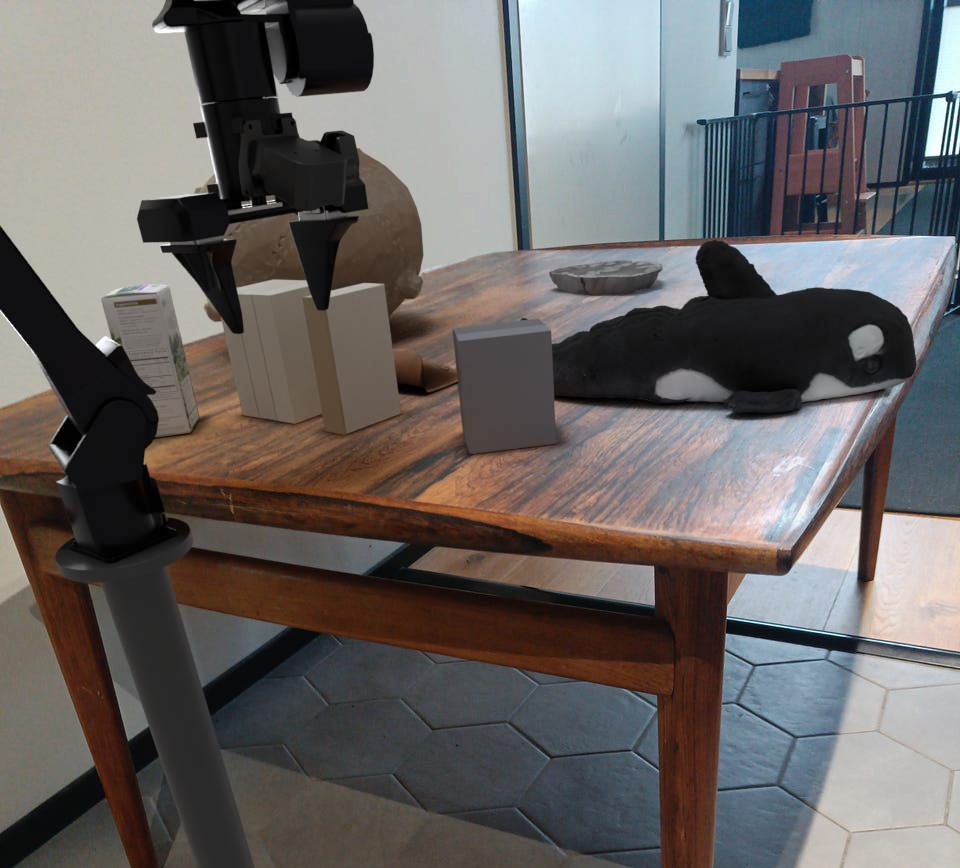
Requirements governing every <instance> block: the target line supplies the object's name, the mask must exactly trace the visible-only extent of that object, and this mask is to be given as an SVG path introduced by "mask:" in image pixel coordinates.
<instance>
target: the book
mask: <svg viewBox="0 0 960 868" xmlns="http://www.w3.org/2000/svg"><path fill="white" fill-rule="evenodd" d="M302 301H303V307H304V312H305V318H306V324H307V329H308V335H309V341H310V347H311V352H312V358H313V364H314V369H315V375H316V381H317V387H318V392H319V398H320V404H321V409H322V414H321V415H322V420H323V421H322V422H323V426H324V431H325V432H326V433H333V434H337V435H342V436H346V435H348V434H350V433H353V432H356V431H359V430H361V429H364V428H366V427H369V426H372V425H374V424H378V423H380V422H383V421H385V420H388V419H391V418H393V417H396V416H399V415H401V414H402V411H401V402H400V395H399V388H398V383H397V379H396V371H395V364H394V356H393V349H394V348H393V342H392V341H393V340H392V333H391V326H390V320H389V319H390V317H388V310H387V302H386V295H385V287H384V284H375V283H362V284H358V285H353V286H349V287H345V288H340V289H336V290H332V291H331V294H330V301H329V308H328V309H327V310H325V311H319V310H317V308H316V306H315V304H314V301H313V299H312V296H306V297H302Z"/></svg>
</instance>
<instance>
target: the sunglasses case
mask: <svg viewBox="0 0 960 868" xmlns="http://www.w3.org/2000/svg"><path fill="white" fill-rule="evenodd" d="M393 356H394V364H395V371H396V379H397V384H402V385H408V386H415V387H422V389H423V390H424V391H426V392H427V393H429V394H430V393H433V392H437V391H441V390H444V389H446V388H449V387H452V386H453V385H455V384H458V379H457V369H456V368H452V367H450V366H447V365H446V364H443V363H440V362H435V361H432V360H429V359H424V358H422V356H421V355H420V354H418V353H417V352H416V351H414V350H413V349H411V348H401V349H397V348H393Z"/></svg>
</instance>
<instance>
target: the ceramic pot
mask: <svg viewBox="0 0 960 868" xmlns="http://www.w3.org/2000/svg"><path fill="white" fill-rule="evenodd" d="M357 151H358V156H359V174H360V175H359V178H360V179H361V180H362V181H363V182H364V184H365V187H366V194H367V201H368V209H366V210H360V211H355V212H349V213H347V215H348V216H359V219H358V222H357V223H353V224H352V225H351V226H350V227H349V228H348V230H347V231H346V233H345V234H344V235H343V237H342V238H341V240H340V243H339V247H338V252H337V256H336V261H335V267H334V274H333V281H332V287H331V291H332V290H336V289H340V288H345V287H349V286H353V285H358V284H362V283H375V284H384V287H385V295H386V302H387V310H388V318H390V317H391V316H392V314H394V313H395V311H396V310H397V309H398V308H399V307H400V306H401V305H402V304H403V303H404V302H405V300H414V299H416V298H417V297H418V296H419V295H420V293H421V291H422V288H423V284H424V281H423V278H422V277H421V276H419V275H420V272H421V270H422V264H423V259H424V242H423V229H422V227H423V226H422V221H421V218H420V214H419V210H418V207H417V205H416V202H415V200H414V197H413V195H412V193H411V191H410V190H409V187H408V186H407V185H406V184H405V183H404V182H403V181H402V180H401V179H400V178H399V177H398V176H397V175H396V174H395V173H394V172H393V171H392V170H391V169H390V168H388V166H386V165H385V164H383V163H382V162H380V161H379V160H377V159H375V158H374V157H372V156H371V155H370V154H367V153H365V152H364V151H363V150H362V149H361V148H360V147H357ZM215 183H217V182H216V177H215V173H214V174H213V175H212V176H211V177H210V178H209V179H208V180H207V181H206V182H205V183H204V184H203V185H202V186H200V187H196V188H195V189H194V192H193V194H202V193H208V189H207V184H215ZM266 200H267V201H272V200H275V196H274V195H273V196H266ZM241 204H242V205H246V204H251V201H244V202H241ZM296 220H299V215H296V214H295V213H291V214H285V215H280V216H274V217H268V218H262V219H257V220H251V221H245V222H239V223H233V224H229V226H228V228H227V230H226V233H225V235H223V238H224V239H236V241H237V242H236V246H235V250H234V253H233V257H232V262H231V263H232V269H233V274H234V278H235V283H236V288H238V287H243V286H247V285H252V284H256V283H260V282H265V281H269V280H306V278H305V274H304V271H303V268H302V265H301V261H300V258H299V255H298V252H297V248H296V245H295V242H294V239H293V235H292V232H291V229H290V226H289V222H290V221H296ZM200 290H201V291H202V289H201V288H200ZM202 293H203V296H204V297H205V298H206V303H205V304H204V305H203V307H202V308H203V310H204V312H205V313H206V316H207V317H208V319H209V320H210V321H212V322H214V323H219V322H221V323H222V320H221V316H220V315H219V313H218V312H217V310H216V309H215V308H214V306H213V305H212V303H211V302H210V300H209V299H208V298H207V296H206V295H205V293H204V292H203V291H202Z"/></svg>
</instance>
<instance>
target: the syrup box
mask: <svg viewBox="0 0 960 868" xmlns="http://www.w3.org/2000/svg"><path fill="white" fill-rule="evenodd" d="M100 301H101V304H102V309H103V312H104V316H105V320H106V323H107V327H108V331H109V335H110V339H111V340H113V341H115V342H116V343H118V344H119V345H121V346H122V347H123V348H124V350H125V352H126V354H127V355H128V357H129V359H130V361H131V363H132V365H133V367H134V369H135V371H136V373H137V374H138V376H139V377H140V378H141V379H142V380H143V381H144V382H145V383H146V384H148V385H149V386H150V387H152V388H153V389H154V390H156V394H154V395H147V396H148V397H149V398H150V399H151V400H152V402H153V404H154V406H155V408H156V410H157V412H158V416H159V421H158V428H157V434H156V436H155V438H160V437H161V438H162V437H168V436H176V435H182V434H183V435H184V434H191V432H193V430H194V428H195V427H196V425H197V424H198V421H199V420H200V418H201V417H200V412H199V408H198V403H197V399H196V396H195V395H196V394H195V391H194V387H193V386H194V385H193V382H192V378H191V374H190V369H189V364H188V360H187V357H186V356H187V355H186V352H185V348H184V343H183V339H182V335H181V331H180V326H179V322H178V318H177V313H176V309H175V305H174V300H173V296H172V292H171V286H170V285H168V284H160V283H159V284H156V283H149V284H148V283H147V284H134V285H128V286H124V287H119V288H116V289H113V290H112V291H110V292H109V293H107V294H105V295H104V296H102V297H101V300H100Z"/></svg>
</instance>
